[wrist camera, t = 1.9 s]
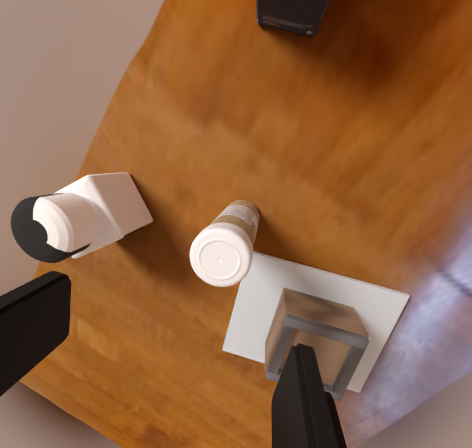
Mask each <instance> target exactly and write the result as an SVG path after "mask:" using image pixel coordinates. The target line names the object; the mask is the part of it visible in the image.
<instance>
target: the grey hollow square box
mask: <svg viewBox="0 0 472 448" xmlns="http://www.w3.org/2000/svg"><path fill="white" fill-rule="evenodd" d="M368 337H369V334H368V333H367V331H366V329H365V327H364V325H363V324H362V322H361V320H360V318H359V317H358V315H357V313H356V311H355V309H354V308H353V307H350V306H347V305H343V304H340V303H336V302H333V301H329V300H326V299H322V298H319V297H315V296H312V295H308V294H305V293H301V292H298V291H294V290H291V289H287V288H283V291H282V294H281V297H280V300H279V303H278V306H277V308H276V311H275V314H274V317H273V320H272V323H271V326H270V329H269V332H268V335H267V338H266V341H265V363H264V373H265V374H266V379H269V380H273V381H276V382H278V381H279V378H280V376H281V373H282V370H283V368H284V365H285V362H286V360H287V357H288V354H289V352H290V349H291V347H292V346H296V345H297V344H298V343H300V344H304V345H307V346H310V347H313V348H314V351H315V355H316V359H317V363H318V367H319V371H320V375H321V379H322V383H323V387H324V391H327V392H330V393H331V395H332V397H333V400H336V401H339V402H340V401H341V399H342V397H343V395H344V393H345V390H346V388H347V386H348V384H349V382H350V380H351V378H352V376H353V374H354V372H355V370H356V368H357V366H358V364H359V362H360V360H361V358H362V356H363V354H364V352H365V350H366V348H367V346H368V344H369V340H368Z"/></svg>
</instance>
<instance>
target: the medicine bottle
mask: <svg viewBox="0 0 472 448" xmlns="http://www.w3.org/2000/svg"><path fill="white" fill-rule="evenodd" d="M152 222H153V218H152V216H151V214H150V212H149V210H148V209H147V207H146V205H145V203H144V201H143V199H142V197H141V195H140V193H139V191H138V189H137V188H136V186H135V184H134V182H133V180H132V178H131V176H130V174H129V173H127V172H121V173H108V174H95V175H87V176H85V177H83V178H81V179H79V180H78V181H76V182H74V183H72V184H70V185H69V186H67V187H65V188H63V189H61V190H59V191H57V192H56V193H54V194H50V195H43V196H36V197H30V198H26V199H24V200H22V201H21V202H20V203H19V204H18V205H17V206H16V208H15V209H14V211H13V213H12V217H11V229H12V233H13V236H14V238H15V240H16V242H17V243H18V245H19V246H20V247H21V248H22V249H23V251H24V252H26V253H27V254H28V255H29V256H31V257H33V258H35V259H37V260H40V261H43V262H47V263H56V262H60V261H62V260H64V259H66V258H68V257H70V256H72V258H74V259H76V258H79V257H81V256H83V255H86V254H88V253H90V252H93V251H95V250H97V249H99V248H102V247H104V246H106V245H108V244H111V243H113V242H115V241H117V240H120V239H122V238H124V237H126V236H128V235H130V234H132V233H134V232H135V231H137V230H139V229H141V228H143V227H145V226H147V225H149V224H151V223H152Z"/></svg>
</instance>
